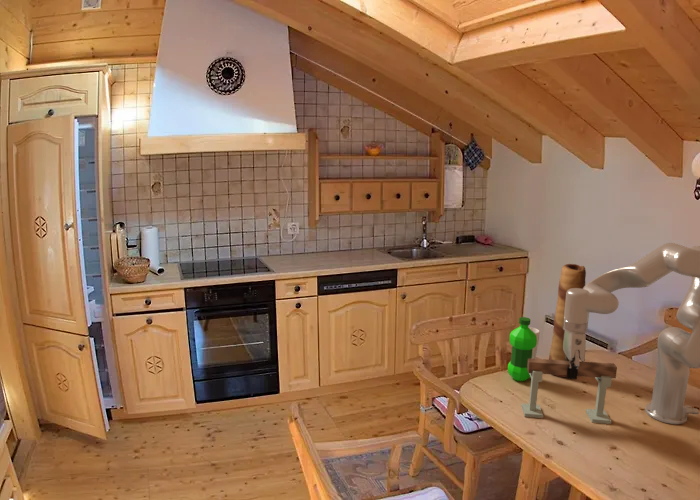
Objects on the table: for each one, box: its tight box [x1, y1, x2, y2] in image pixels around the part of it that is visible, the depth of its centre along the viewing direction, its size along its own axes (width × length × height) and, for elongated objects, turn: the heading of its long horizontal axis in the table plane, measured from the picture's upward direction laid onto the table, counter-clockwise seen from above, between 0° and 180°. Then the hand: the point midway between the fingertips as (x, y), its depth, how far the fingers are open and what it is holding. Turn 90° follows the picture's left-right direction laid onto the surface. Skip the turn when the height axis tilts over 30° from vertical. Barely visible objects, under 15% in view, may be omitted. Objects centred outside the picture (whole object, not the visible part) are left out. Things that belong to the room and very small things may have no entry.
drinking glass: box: [528, 326, 540, 359], centre depth 219 cm, size 7×7×15 cm
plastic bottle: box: [507, 316, 537, 382], centre depth 204 cm, size 10×10×25 cm
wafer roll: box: [548, 263, 587, 378], centre depth 207 cm, size 10×11×45 cm
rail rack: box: [520, 371, 613, 425], centre depth 178 cm, size 28×7×17 cm, turn 82°
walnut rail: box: [527, 358, 618, 379], centre depth 176 cm, size 28×3×4 cm, turn 82°
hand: (570, 375), depth 177 cm, fingers closed on walnut rail, 3 cm apart
